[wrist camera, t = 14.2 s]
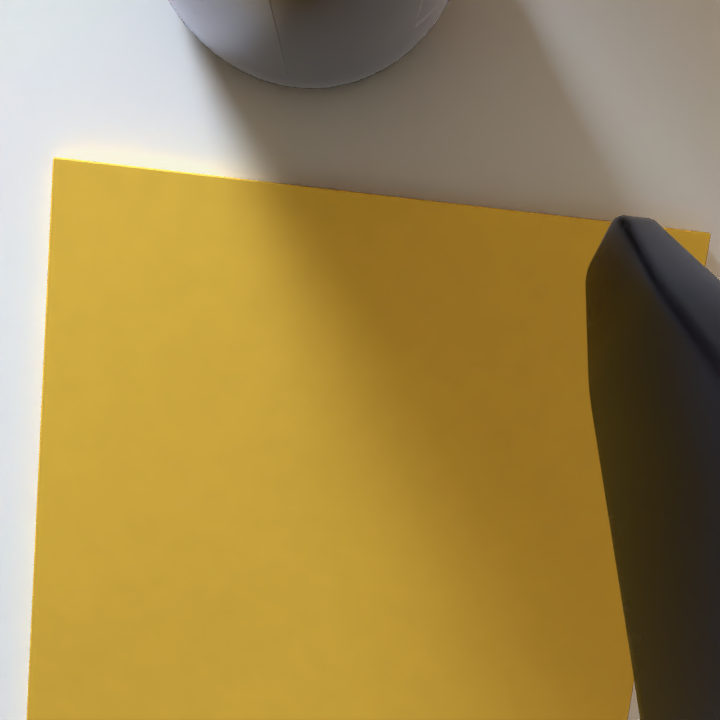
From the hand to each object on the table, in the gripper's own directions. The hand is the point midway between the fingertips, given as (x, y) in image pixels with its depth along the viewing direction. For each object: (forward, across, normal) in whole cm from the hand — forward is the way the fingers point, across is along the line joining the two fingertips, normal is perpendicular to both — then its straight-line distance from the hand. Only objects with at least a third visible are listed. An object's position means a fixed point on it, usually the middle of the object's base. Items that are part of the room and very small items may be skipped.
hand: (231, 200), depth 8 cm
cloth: (0, -2, +12) cm, 12 cm away
